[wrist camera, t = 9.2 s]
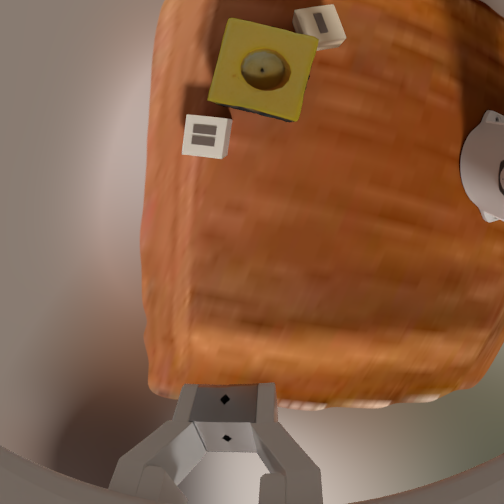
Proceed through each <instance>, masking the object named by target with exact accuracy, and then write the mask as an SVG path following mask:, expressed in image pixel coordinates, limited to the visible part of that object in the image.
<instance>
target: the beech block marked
mask: <svg viewBox="0 0 504 504" xmlns="http://www.w3.org/2000/svg"><path fill="white" fill-rule="evenodd" d="M292 23H293V26H294V29H295V31H296V33H299V34H305V35H310V36H314V37H316V38H317V39H319V42H318V47H317V50H316V51H318V50H324V49H330V48H336V47H339V46H340V45H341V44H342V42H343V41H344V40H345V39H346V35H345V33H344V30H343V27H342V25H341V22H340V19H339V17H338V14H337V12H336V9H335V7H334V5H333V4H332V5H324V6H316V7H310V8H303V9H298V10H294V15H293V20H292Z"/></svg>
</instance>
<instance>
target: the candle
mask: <svg viewBox="0 0 504 504" xmlns="http://www.w3.org/2000/svg"><path fill="white" fill-rule="evenodd" d="M318 42H319V39H317V38H316V37H314V36H310V35H305V34H299V33H294V32H291V31H288V30H284V29H279V28H275V27H274V26H267V25H263V24H259V23H255V22H251V21H247V20H242V19H237V18H229V19H228V21H227V24H226V28H225V32H224V36H223V39H222V44H221V48H220V52H219V56H218V60H217V64H216V67H215V71H214V75H213V79H212V83H211V86H210V89H209V94H208V99H207V101H211V102H214V103H215V104H218V105H221V106H227V107H231V108H234V109H239V110H243V111H246V112H252V113H257V114H260V115H263V116H267V117H272V118H276V119H280V120H283V121H285V122H292V121H293V122H295V121H298V119H299V116H300V113H301V108H302V103H303V96H304V92H305V90H306V86H307V81H308V80H309V77H310V75H309V73H310V69H311V65H312V62H313V59H314V56H315V53H316V50H317V47H318Z"/></svg>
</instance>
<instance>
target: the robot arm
mask: <svg viewBox="0 0 504 504" xmlns="http://www.w3.org/2000/svg"><path fill="white" fill-rule="evenodd" d="M460 172H461V179H462V183H463V186H464V189H465V191H466V193H467V195H468V197H469V198H470V199H471V201H472V202H473V203H474V204H476V205H477V206H478V208H479V209H480V212H481V215H482V217H483V219H484V220H485V221H487V222H493V221H496V220H499V219H500V220H502V221H504V116H503V115H501V114H499V113H497V112H495V111H492V110H487V111H486V112H485V114H484V116H483V118H482V121H481V123H480V124H479V125H478V126H477V127H476V128H474V129H473V130H472V131H471V133H470V134H469V135H468V137H467V139H466V141H465V143H464V146H463V149H462V153H461V160H460ZM206 451H208V452H209V451H211V452H257V454H258V455H259V457H260V458H261V460H262V461H263V463H264V464H265V466H266V467H267V468H268V470H269V472H270V474H264V475H263V476H262V477H261V479H260V492H259V504H323V497H322V485H321V472H320V469H319V467H318V466H317V465H316V464H315V463H314V462H313V461H312V460H311V459H310V457H309V456H308V455H307V454H306V453H305V452H304V451H303V450H302V448H301V447H300V446H299V445H298V444H297V443H296V442H295V440H294V439H293V438H292V437H291V436H290V435H289V433H288V432H287V431H286V430H285V429H284V428H283V427H282V425H281V424H280V423H279V422H278V410H277V398H276V388H275V383H256V384H231V385H209V384H184V386H183V387H182V390H181V393H180V396H179V399H178V403H177V406H176V409H175V413H174V416H173V419H172V421H171V420H168V421H166V422H165V423H164V424H163V425H162V426H160V427H159V428H158V429H157V430H156V431H154V432H153V433H152V434H151V435H149V436H148V437H147V438H145V439H144V440H143V441H142V442H140V443H139V444H138V445H136V446H135V447H134V448H133V449H131V450H130V451H129V452H127V453H126V454H125V455H123V456H122V457H121V458H120V459H119V461H118V464H117V466H116V469H115V472H114V474H113V477H112V480H111V482H110V485H109V488H108V489H104V488H101V487H98V486H95V485H92V484H88V483H86V482H82V481H79V480H77V479H74V478H71V477H68V476H66V475H63V474H61V473H58V472H55V471H53V470H51V469H48V468H46V467H43V466H41V465H39V464H36V463H34V462H32V461H30V460H28V459H26V458H24V457H22V456H20V455H17V454H16V453H14V452H12V451H10V450H8V449H6V448H4V447H2V446H0V504H187V502H188V499H187V497H186V496H185V495H184V494H183V493H182V492H181V490H180V489H179V488H178V487H177V485H178V484H179V483H180V482H181V481H182V480H183V479H184V478H185V477H186V476H187V474H188V473H189V472H190V471H191V470H192V469H193V468H194V467H195V466H196V464H198V462H199V461H200V460H201V459H202V458H203V457H204V456H205V454H206V453H207V452H206ZM348 504H504V453H503V454H501V455H499V456H497V457H495V458H493V459H491V460H489V461H487V462H485V463H483V464H480V465H478V466H476V467H473V468H471V469H469V470H467V471H464V472H461V473H459V474H456V475H454V476H451V477H448V478H446V479H443V480H440V481H437V482H434V483H431V484H428V485H425V486H422V487H418V488H415V489H412V490H408V491H404V492H401V493H397V494H393V495H389V496H384V497H380V498H376V499H370V500H366V501H360V502H354V503H348Z"/></svg>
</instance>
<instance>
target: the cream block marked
mask: <svg viewBox="0 0 504 504" xmlns="http://www.w3.org/2000/svg"><path fill="white" fill-rule="evenodd" d="M231 126H232V119H227V118H219V117H209V116H199V115H188V114H187V115H186V123H185V131H184V139H183V147H182V154H184V155H193V156H202V157H210V158H218V159H222V158H224V157H225V156H227V153H228V146H229V139H230V132H231Z"/></svg>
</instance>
